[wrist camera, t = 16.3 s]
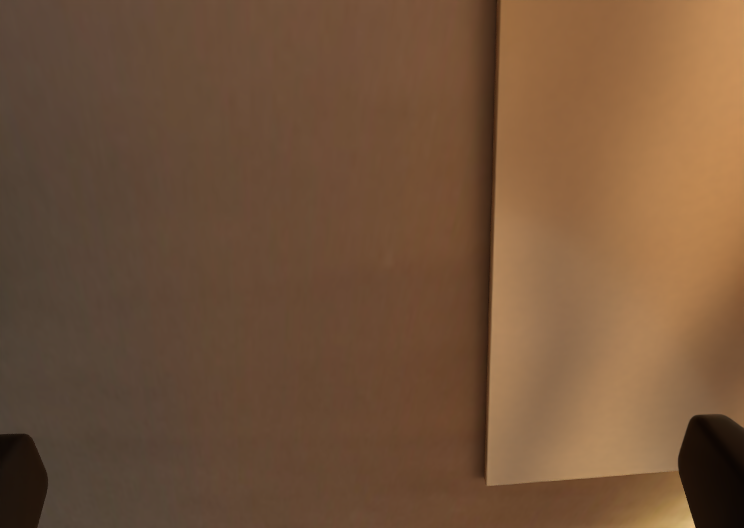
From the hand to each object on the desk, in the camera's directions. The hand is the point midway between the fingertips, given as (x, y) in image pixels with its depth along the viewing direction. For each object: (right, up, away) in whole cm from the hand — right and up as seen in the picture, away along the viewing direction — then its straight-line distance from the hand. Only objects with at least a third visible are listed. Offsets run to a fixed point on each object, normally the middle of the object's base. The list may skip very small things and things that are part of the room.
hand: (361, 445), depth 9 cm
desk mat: (+13, +3, +13) cm, 19 cm away
